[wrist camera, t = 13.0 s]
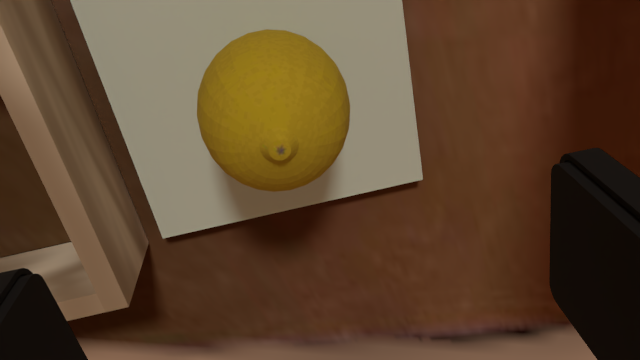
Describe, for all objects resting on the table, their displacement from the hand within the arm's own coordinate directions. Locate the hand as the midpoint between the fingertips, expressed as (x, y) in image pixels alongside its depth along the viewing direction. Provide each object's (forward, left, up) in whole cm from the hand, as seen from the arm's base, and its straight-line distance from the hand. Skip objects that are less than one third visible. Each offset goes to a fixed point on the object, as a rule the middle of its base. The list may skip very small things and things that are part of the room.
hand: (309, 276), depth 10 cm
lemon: (0, 0, -15) cm, 15 cm away
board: (+1, 0, -16) cm, 16 cm away
